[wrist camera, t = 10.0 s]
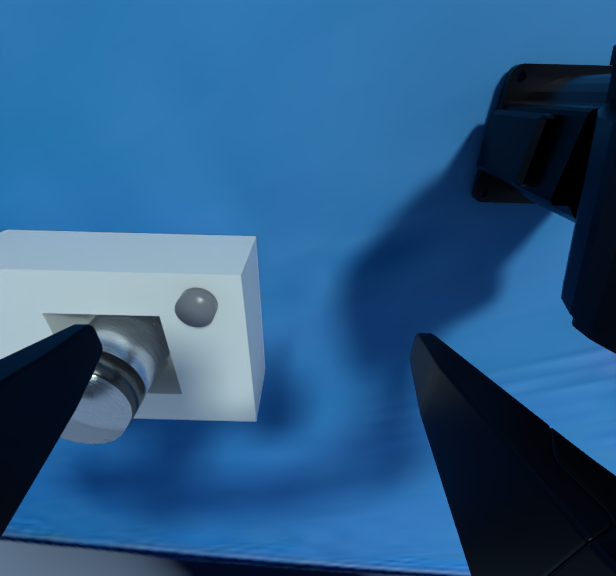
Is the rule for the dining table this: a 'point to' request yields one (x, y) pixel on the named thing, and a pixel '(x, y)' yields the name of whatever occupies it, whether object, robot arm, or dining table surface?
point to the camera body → (148, 308)
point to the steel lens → (118, 377)
